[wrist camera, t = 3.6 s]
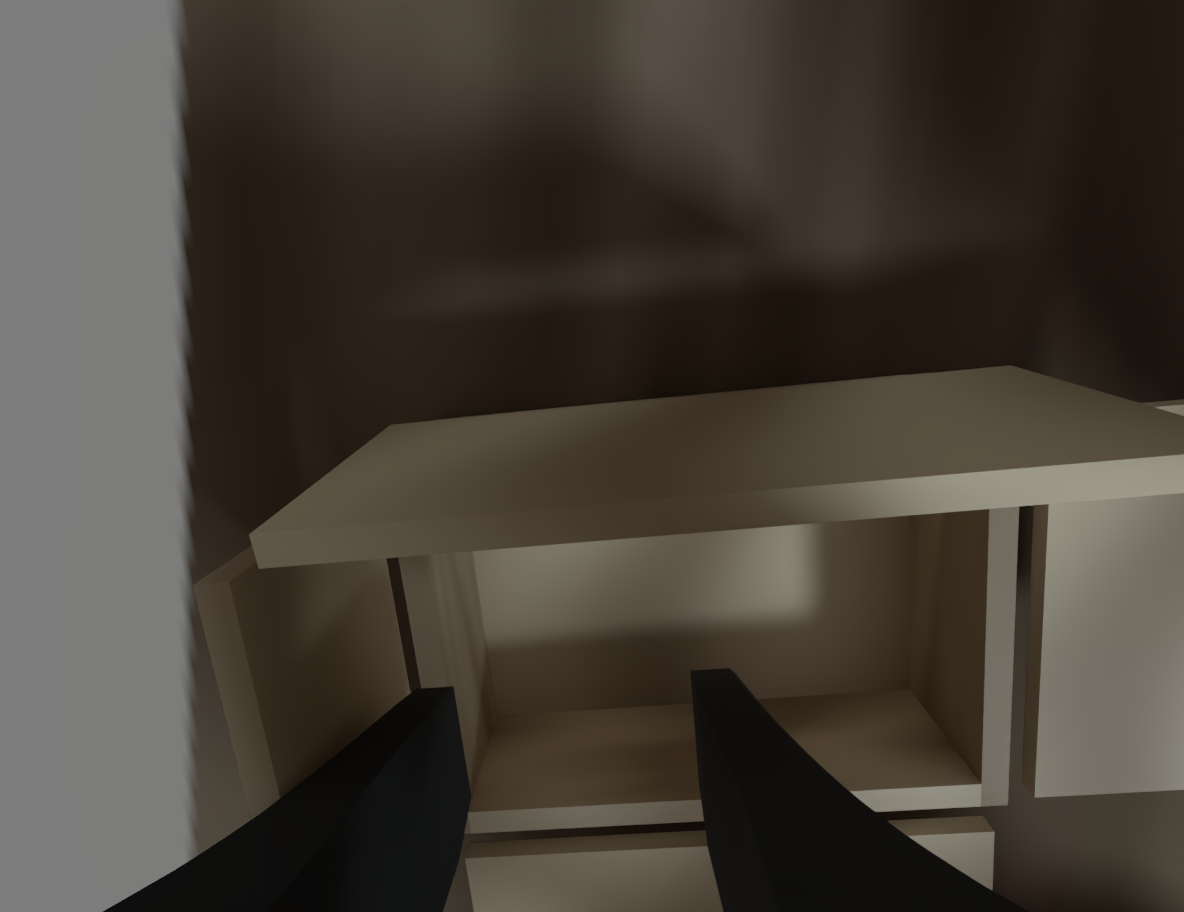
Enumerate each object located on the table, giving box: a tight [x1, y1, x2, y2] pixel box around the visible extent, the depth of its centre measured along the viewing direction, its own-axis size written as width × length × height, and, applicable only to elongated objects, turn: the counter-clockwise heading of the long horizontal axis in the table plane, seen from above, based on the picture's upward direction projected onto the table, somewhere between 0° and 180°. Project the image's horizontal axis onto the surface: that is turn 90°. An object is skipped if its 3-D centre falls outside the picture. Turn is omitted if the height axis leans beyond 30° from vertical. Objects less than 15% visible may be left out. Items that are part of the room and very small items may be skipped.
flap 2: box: [249, 365, 1184, 569], centre depth 9 cm, size 10×4×1 cm
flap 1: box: [193, 546, 410, 820], centre depth 10 cm, size 4×7×1 cm
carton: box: [398, 372, 1184, 912], centre depth 14 cm, size 16×13×4 cm
